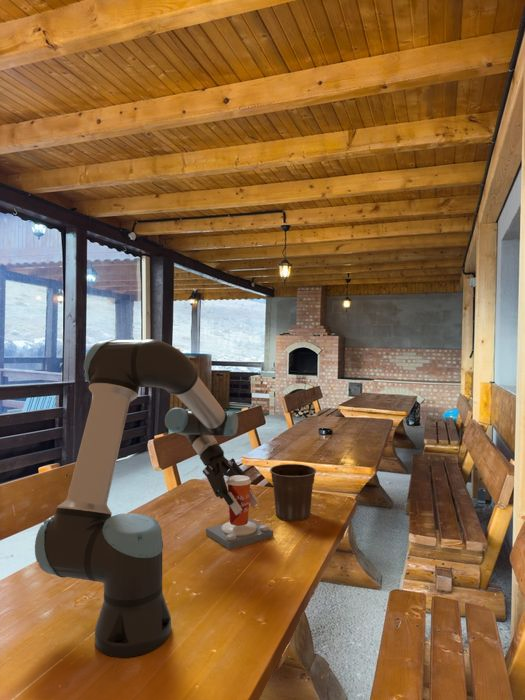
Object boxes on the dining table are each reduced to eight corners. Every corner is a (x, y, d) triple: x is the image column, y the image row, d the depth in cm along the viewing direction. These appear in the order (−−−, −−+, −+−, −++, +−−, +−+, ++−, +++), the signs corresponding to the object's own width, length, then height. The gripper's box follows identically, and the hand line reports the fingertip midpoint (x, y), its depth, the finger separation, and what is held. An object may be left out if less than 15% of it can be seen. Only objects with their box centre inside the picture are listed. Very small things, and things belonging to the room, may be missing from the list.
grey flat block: (229, 549, 137) (229, 539, 137) (206, 534, 148) (206, 525, 148) (273, 536, 146) (273, 527, 146) (248, 523, 158) (248, 514, 158)
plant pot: (318, 524, 157) (318, 475, 157) (270, 524, 157) (269, 475, 157) (314, 507, 173) (313, 463, 173) (270, 507, 173) (270, 463, 173)
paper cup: (240, 529, 142) (240, 482, 142) (221, 523, 146) (221, 478, 146) (256, 521, 148) (256, 477, 148) (237, 516, 153) (237, 473, 153)
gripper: (222, 451, 164) (260, 506, 155) (180, 463, 148) (219, 525, 138) (234, 438, 161) (273, 493, 152) (192, 448, 145) (233, 511, 135)
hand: (247, 508), depth 145 cm, fingers closed on paper cup, 8 cm apart
